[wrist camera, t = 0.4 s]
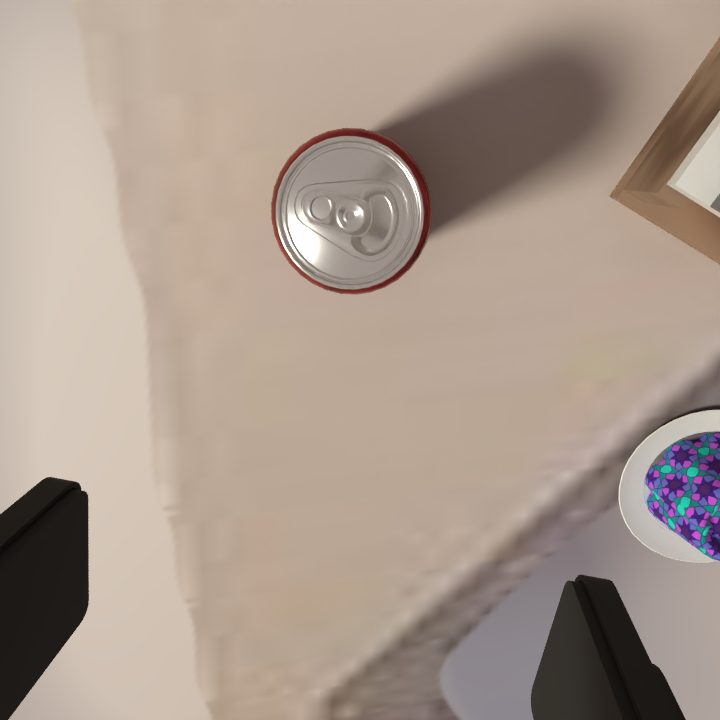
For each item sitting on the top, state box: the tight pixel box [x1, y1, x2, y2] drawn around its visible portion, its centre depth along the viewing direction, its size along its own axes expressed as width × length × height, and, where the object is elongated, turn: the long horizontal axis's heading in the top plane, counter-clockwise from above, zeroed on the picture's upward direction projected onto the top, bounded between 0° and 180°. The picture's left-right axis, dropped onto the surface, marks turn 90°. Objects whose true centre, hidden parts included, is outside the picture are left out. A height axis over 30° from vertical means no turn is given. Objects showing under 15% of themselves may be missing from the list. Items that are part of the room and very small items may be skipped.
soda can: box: [271, 128, 432, 294], centre depth 31 cm, size 7×7×12 cm
